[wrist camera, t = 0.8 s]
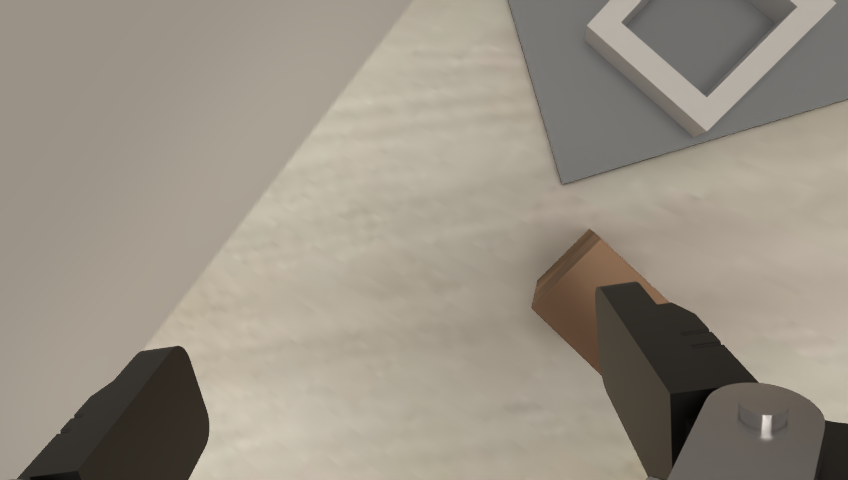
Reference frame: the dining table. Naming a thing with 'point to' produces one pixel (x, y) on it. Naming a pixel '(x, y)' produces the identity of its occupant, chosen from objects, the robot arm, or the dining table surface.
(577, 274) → the walnut peg
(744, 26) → the socket plate
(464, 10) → the dining table surface
